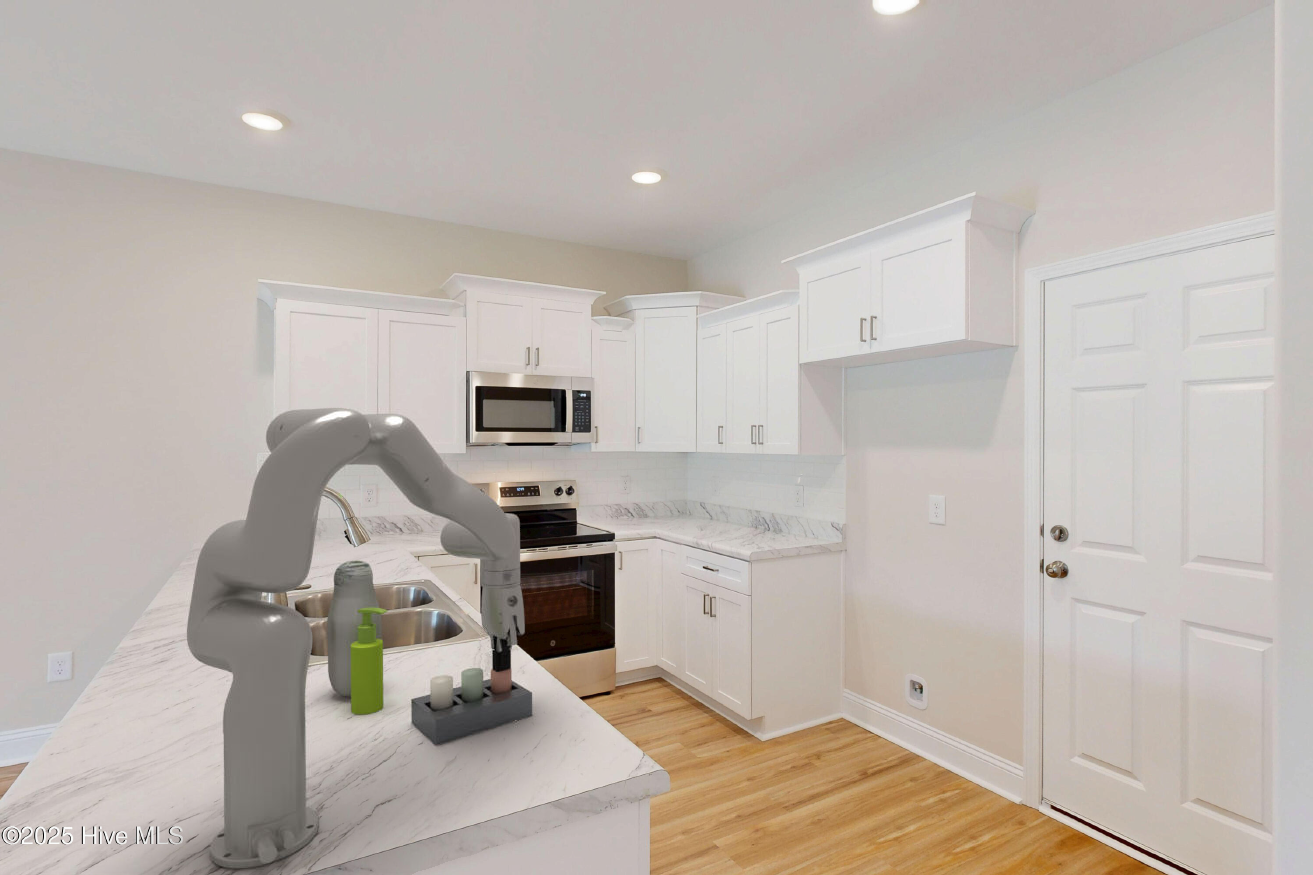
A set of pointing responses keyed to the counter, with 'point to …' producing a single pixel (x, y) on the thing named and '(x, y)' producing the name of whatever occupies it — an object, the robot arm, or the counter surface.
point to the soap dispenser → (367, 666)
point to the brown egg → (501, 681)
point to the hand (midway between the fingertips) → (501, 669)
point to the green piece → (472, 684)
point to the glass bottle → (348, 619)
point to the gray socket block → (470, 713)
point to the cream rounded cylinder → (441, 692)
